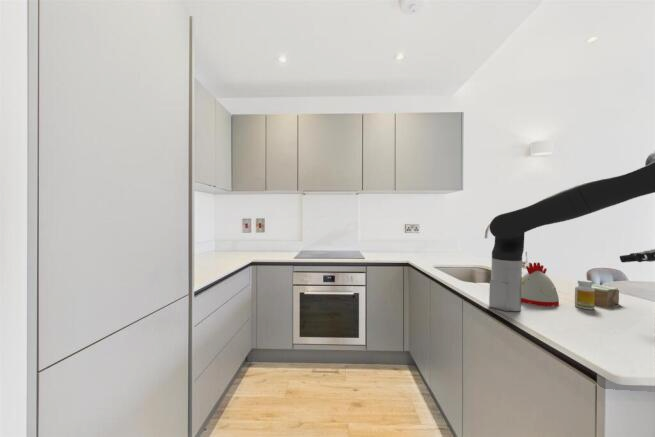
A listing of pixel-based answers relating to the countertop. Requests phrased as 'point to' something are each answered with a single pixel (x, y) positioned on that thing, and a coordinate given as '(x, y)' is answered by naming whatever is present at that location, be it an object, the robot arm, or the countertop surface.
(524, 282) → the grey and red dome
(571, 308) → the countertop surface
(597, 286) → the stand
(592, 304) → the supplement bottle
